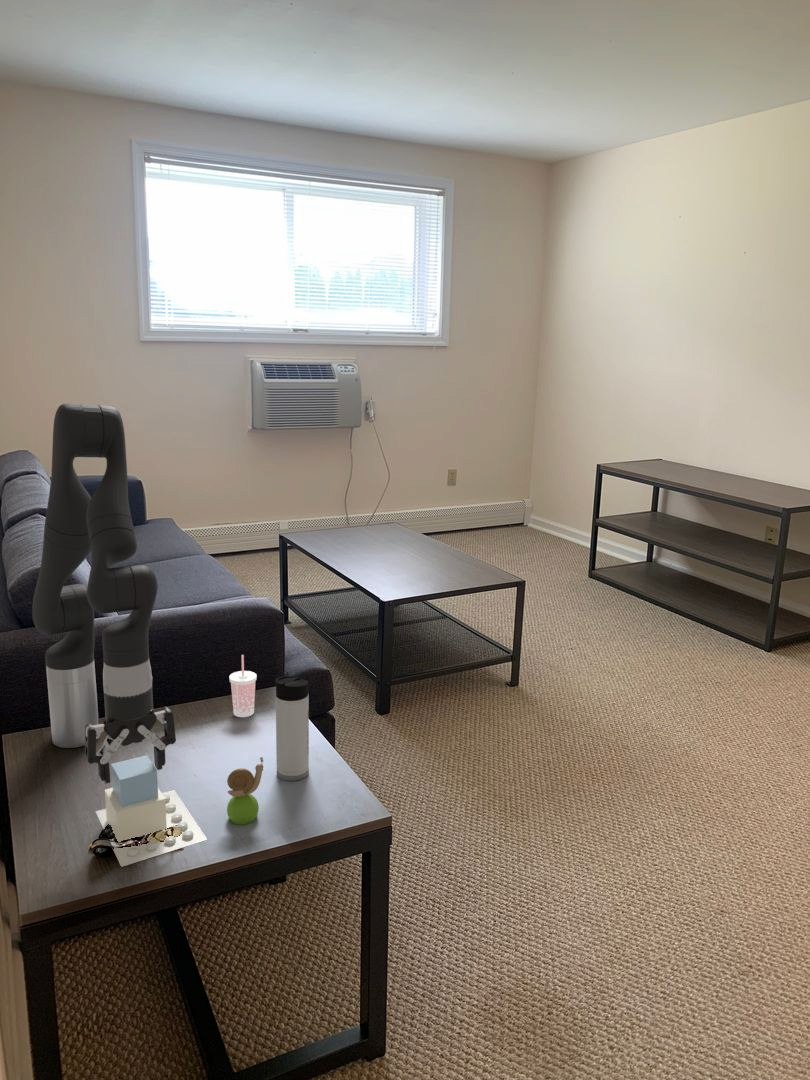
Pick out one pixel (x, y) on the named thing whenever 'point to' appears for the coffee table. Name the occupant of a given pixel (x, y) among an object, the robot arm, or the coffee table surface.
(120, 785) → the blue brick
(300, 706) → the travel mug
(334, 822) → the coffee table surface
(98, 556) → the robot arm
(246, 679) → the beverage cup
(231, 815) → the snail figurine
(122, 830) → the base brick
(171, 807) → the build plate
